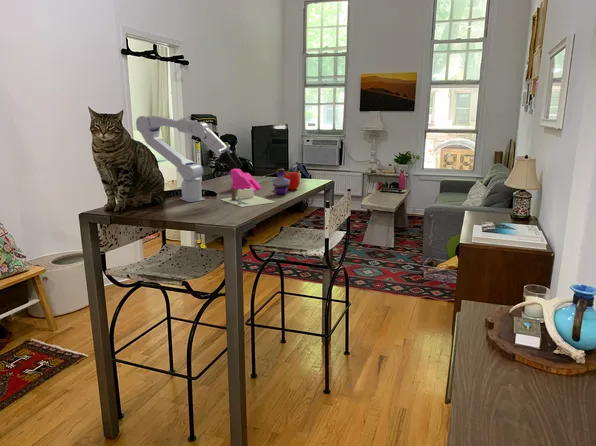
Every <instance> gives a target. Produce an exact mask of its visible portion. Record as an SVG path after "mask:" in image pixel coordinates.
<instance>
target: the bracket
mask: <svg viewBox="0 0 596 446" xmlns="http://www.w3.org/2000/svg"><path fill="white" fill-rule="evenodd" d="M230 178H232V182H231V183H232V185H230V189H231V188H233V187H234V188H236V192H237V190H238V189H241V190H244V189H245V188H246V189H250V188H253V189H254V193H255V192H256V191H257V190H262V189H263V188H262V186H261V185H260V184H259V182H258V181H257V180H256V179H255V178H254V177H253V176H252V175H251V173H249V172H244V171H242V169H241V168H240V169H239V168H234V169H232V168H231V169H230Z"/></svg>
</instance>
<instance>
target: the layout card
mask: <svg viewBox="0 0 596 446" xmlns="http://www.w3.org/2000/svg"><path fill="white" fill-rule="evenodd" d="M219 200H220V201H223V202H226V203H229V204H232V205H235V206H237V207H240V208H247V207H252V206H253V207H254V206H262V205H268V203H269V204H275V202H276V201H275V200H271V199H267V198H264V197H261V196H258V195H255V194H254V197H252V198H244V199H242V204H238V199H237V196H236V200H232V197H227V198H220V199H219Z"/></svg>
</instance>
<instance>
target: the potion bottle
mask: <svg viewBox="0 0 596 446" xmlns="http://www.w3.org/2000/svg"><path fill="white" fill-rule="evenodd" d="M286 172H287V171H285V169H284V168H277V170H276V172H275V175H276V176H277V177H276V178H273V179H271V183H272V186H273V189H274V192H275V193H274V194H275V195H276V194H277V195H276V196H286V195H287V192H288V190H287V189H288V188H289V183H290V180H289V179H286V178H284V175H286ZM285 194H286V195H285Z"/></svg>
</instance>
